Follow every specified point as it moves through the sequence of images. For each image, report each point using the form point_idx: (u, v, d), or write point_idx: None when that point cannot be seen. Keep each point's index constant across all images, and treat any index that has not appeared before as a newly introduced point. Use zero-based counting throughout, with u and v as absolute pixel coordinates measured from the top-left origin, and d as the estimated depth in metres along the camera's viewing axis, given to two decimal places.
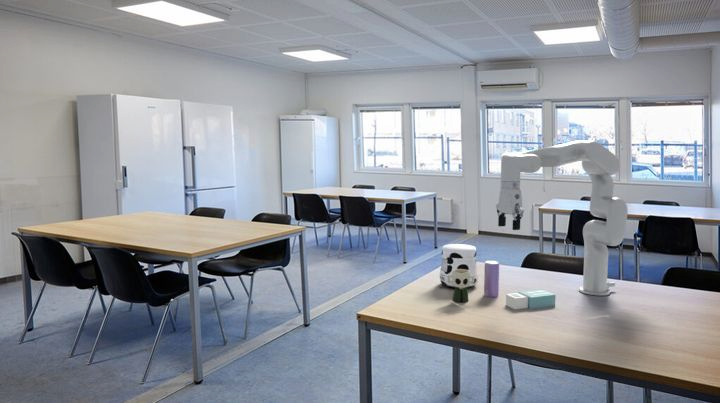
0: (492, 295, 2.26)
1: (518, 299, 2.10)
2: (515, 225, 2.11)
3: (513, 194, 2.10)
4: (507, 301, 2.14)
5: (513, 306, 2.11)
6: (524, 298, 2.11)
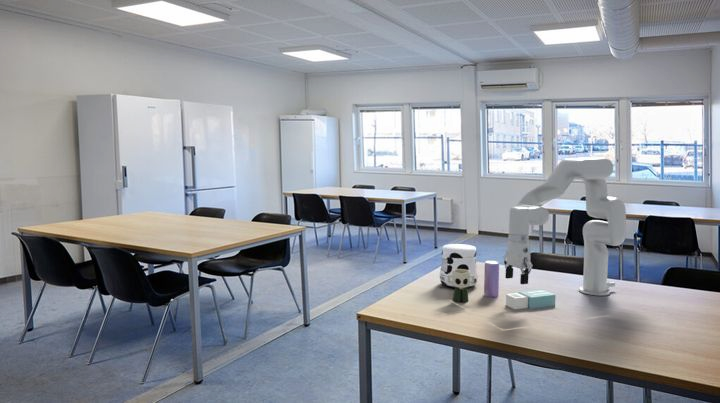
0: (492, 295, 2.26)
1: (518, 299, 2.10)
2: (523, 279, 2.06)
3: (521, 248, 2.06)
4: (507, 301, 2.14)
5: (513, 306, 2.11)
6: (524, 298, 2.11)
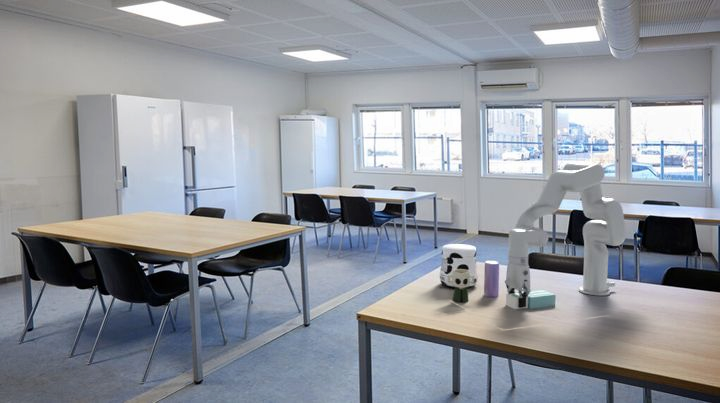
0: (492, 295, 2.26)
1: (518, 299, 2.10)
2: (521, 303, 2.09)
3: (521, 270, 2.07)
4: (507, 301, 2.14)
5: (513, 306, 2.11)
6: None
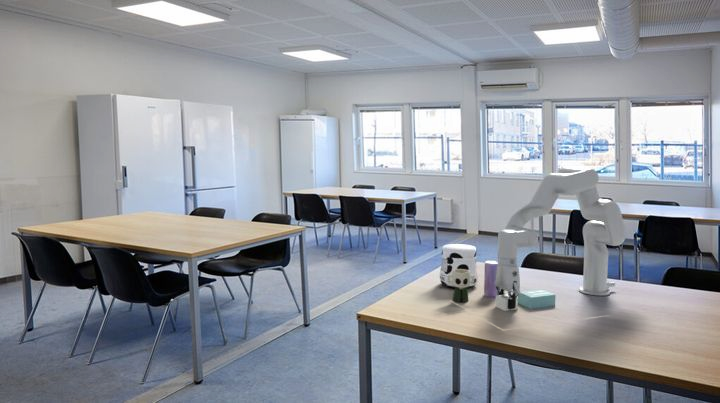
0: (492, 295, 2.26)
1: (507, 301, 2.08)
2: (510, 304, 2.08)
3: (510, 271, 2.06)
4: (497, 302, 2.13)
5: (502, 307, 2.09)
6: None
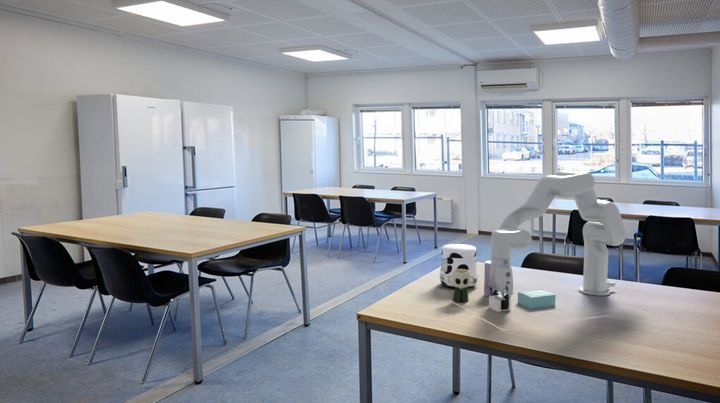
0: None
1: (500, 301, 2.07)
2: (503, 305, 2.07)
3: (504, 272, 2.05)
4: (490, 303, 2.12)
5: (496, 308, 2.08)
6: None
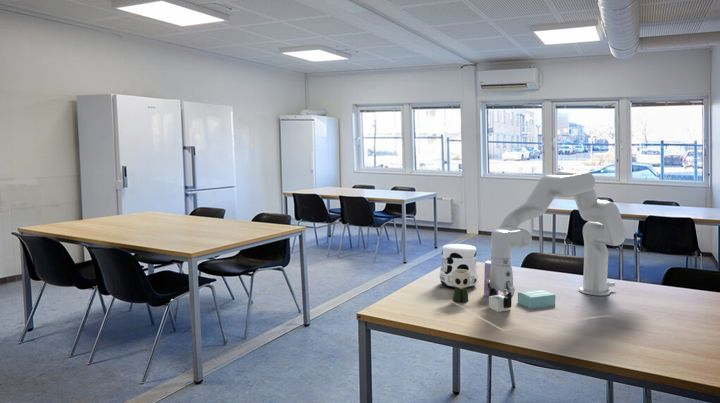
0: None
1: (500, 301, 2.07)
2: (506, 303, 2.05)
3: (504, 272, 2.05)
4: (490, 303, 2.12)
5: (496, 308, 2.08)
6: None
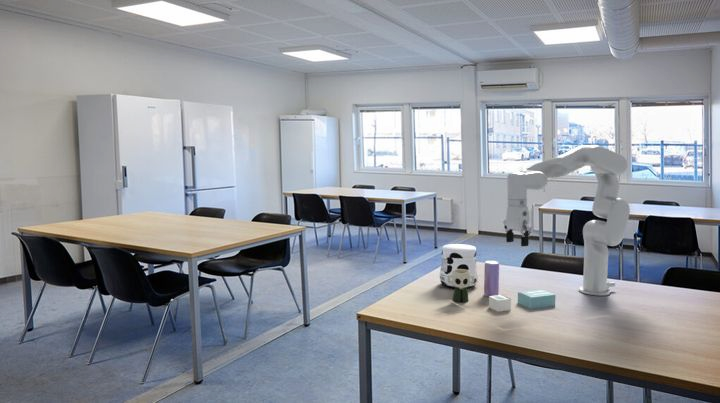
0: (492, 295, 2.26)
1: (500, 301, 2.07)
2: (524, 241, 2.16)
3: (521, 211, 2.15)
4: (490, 303, 2.12)
5: (496, 308, 2.08)
6: (507, 300, 2.08)
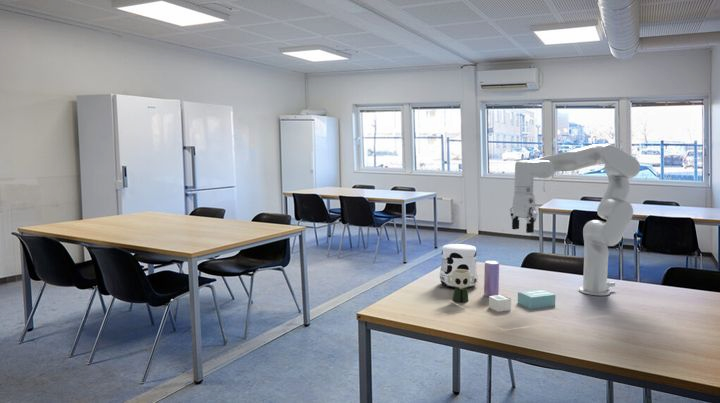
0: (492, 295, 2.26)
1: (500, 301, 2.07)
2: (529, 228, 2.21)
3: (527, 198, 2.20)
4: (490, 303, 2.12)
5: (496, 308, 2.08)
6: (507, 300, 2.08)
